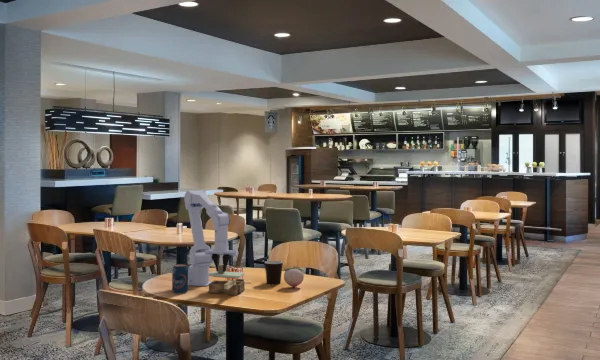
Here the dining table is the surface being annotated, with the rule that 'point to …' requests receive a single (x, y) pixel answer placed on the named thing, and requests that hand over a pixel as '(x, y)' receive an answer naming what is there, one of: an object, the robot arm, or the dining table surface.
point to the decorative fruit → (293, 276)
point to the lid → (225, 273)
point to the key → (229, 284)
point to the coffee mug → (273, 272)
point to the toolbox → (234, 290)
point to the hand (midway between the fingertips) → (221, 271)
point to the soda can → (180, 278)
